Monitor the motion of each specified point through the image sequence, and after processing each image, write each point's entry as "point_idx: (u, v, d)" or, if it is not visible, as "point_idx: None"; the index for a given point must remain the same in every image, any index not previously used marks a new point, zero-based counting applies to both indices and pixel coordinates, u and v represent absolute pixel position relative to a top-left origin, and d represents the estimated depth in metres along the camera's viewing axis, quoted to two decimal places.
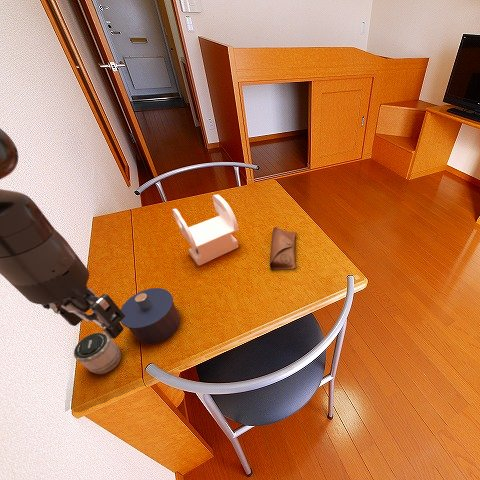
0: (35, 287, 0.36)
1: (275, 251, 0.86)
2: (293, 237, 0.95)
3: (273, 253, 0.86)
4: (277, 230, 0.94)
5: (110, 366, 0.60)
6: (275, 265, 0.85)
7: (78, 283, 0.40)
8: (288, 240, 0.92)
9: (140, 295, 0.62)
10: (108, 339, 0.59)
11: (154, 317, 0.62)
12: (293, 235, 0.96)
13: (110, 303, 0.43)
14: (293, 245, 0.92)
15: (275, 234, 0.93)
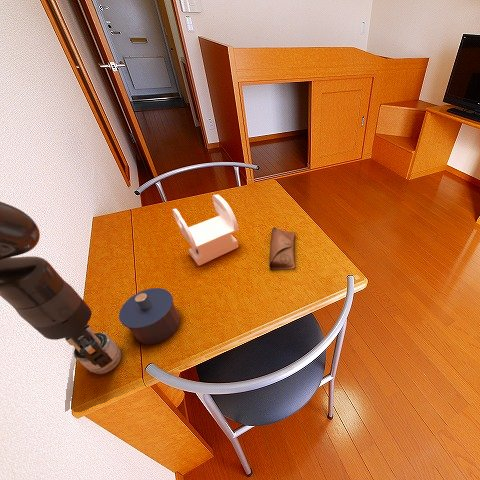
0: (40, 329, 0.47)
1: (274, 251, 0.86)
2: (292, 237, 0.95)
3: (273, 253, 0.86)
4: (276, 230, 0.94)
5: (110, 366, 0.60)
6: (274, 265, 0.85)
7: (75, 328, 0.50)
8: (287, 240, 0.92)
9: (140, 295, 0.62)
10: (108, 339, 0.59)
11: (154, 317, 0.62)
12: (292, 235, 0.96)
13: (96, 349, 0.52)
14: (292, 245, 0.92)
15: (274, 234, 0.93)
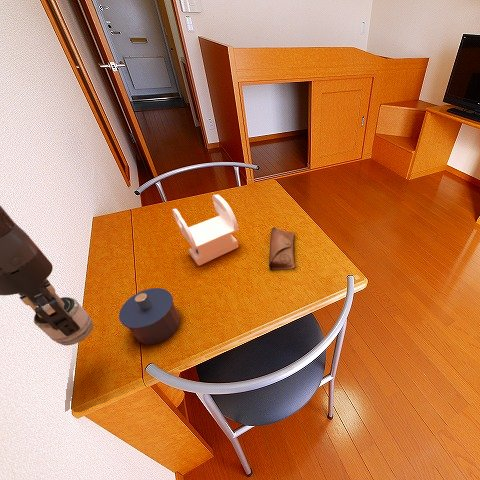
0: None
1: (274, 251, 0.86)
2: (291, 237, 0.95)
3: (272, 253, 0.86)
4: (276, 230, 0.94)
5: (78, 337, 0.52)
6: (274, 265, 0.85)
7: (29, 282, 0.42)
8: (287, 240, 0.92)
9: (140, 295, 0.62)
10: (76, 304, 0.51)
11: (154, 317, 0.62)
12: (292, 235, 0.96)
13: (57, 309, 0.43)
14: (292, 245, 0.92)
15: (274, 234, 0.93)
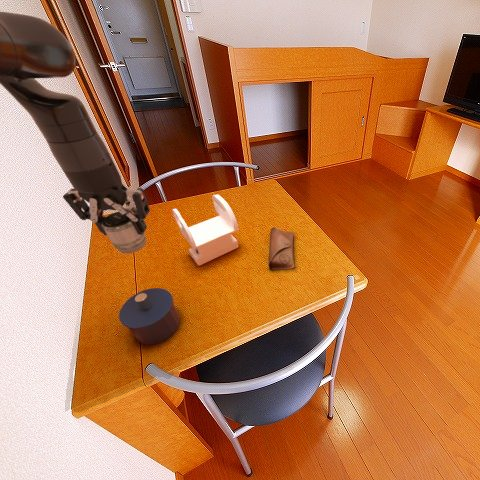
0: (92, 173, 0.48)
1: (273, 251, 0.86)
2: (291, 237, 0.95)
3: (272, 253, 0.86)
4: (275, 230, 0.94)
5: (144, 239, 0.62)
6: (274, 265, 0.85)
7: (117, 176, 0.52)
8: (286, 240, 0.92)
9: (140, 295, 0.62)
10: None
11: (154, 317, 0.62)
12: (291, 235, 0.96)
13: (144, 196, 0.55)
14: (291, 245, 0.92)
15: (273, 234, 0.93)
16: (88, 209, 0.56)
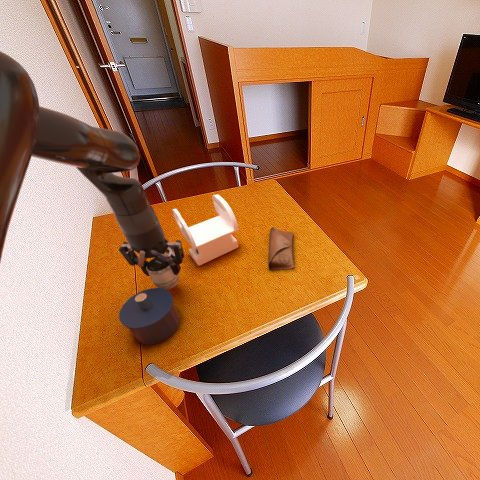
0: (146, 234, 0.61)
1: (273, 251, 0.86)
2: (290, 237, 0.95)
3: (271, 253, 0.86)
4: (274, 230, 0.94)
5: (178, 277, 0.75)
6: (273, 265, 0.85)
7: (162, 233, 0.66)
8: (286, 240, 0.92)
9: (140, 295, 0.62)
10: None
11: (154, 317, 0.62)
12: (290, 235, 0.96)
13: (181, 246, 0.69)
14: (291, 245, 0.92)
15: (272, 234, 0.93)
16: (135, 256, 0.70)
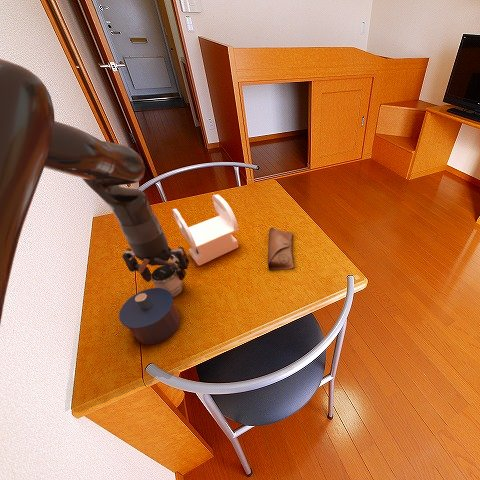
0: (150, 243, 0.63)
1: (272, 251, 0.86)
2: (289, 237, 0.95)
3: (271, 253, 0.86)
4: (274, 230, 0.94)
5: (181, 286, 0.77)
6: (273, 265, 0.85)
7: (165, 241, 0.67)
8: (285, 240, 0.92)
9: (140, 295, 0.62)
10: None
11: (154, 317, 0.62)
12: (290, 235, 0.96)
13: (184, 252, 0.71)
14: (290, 245, 0.92)
15: (272, 234, 0.93)
16: (136, 263, 0.71)
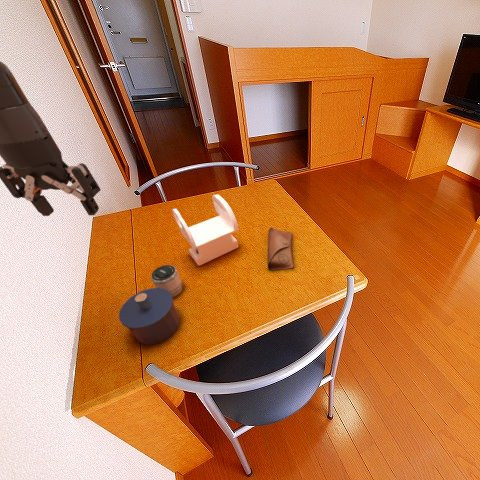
0: (23, 145, 0.44)
1: (272, 251, 0.86)
2: (289, 237, 0.95)
3: (271, 253, 0.86)
4: (273, 230, 0.94)
5: (181, 286, 0.77)
6: (273, 265, 0.85)
7: (56, 152, 0.48)
8: (285, 240, 0.92)
9: (140, 295, 0.62)
10: None
11: (154, 317, 0.62)
12: (289, 235, 0.96)
13: (87, 171, 0.52)
14: (290, 245, 0.92)
15: (271, 234, 0.93)
16: (24, 187, 0.53)
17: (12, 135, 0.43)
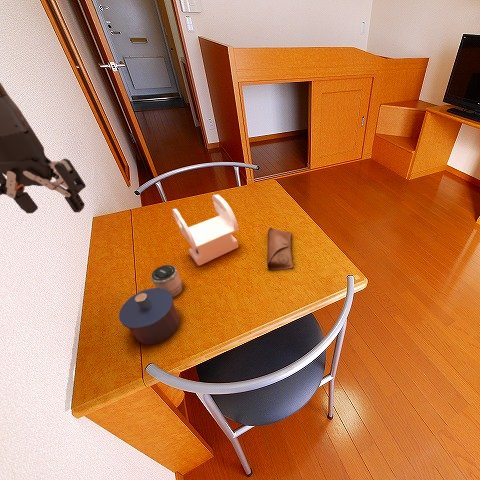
0: (2, 140, 0.43)
1: (272, 251, 0.86)
2: (288, 237, 0.95)
3: (270, 253, 0.86)
4: (273, 230, 0.94)
5: (181, 286, 0.77)
6: (272, 265, 0.85)
7: (38, 146, 0.47)
8: (284, 240, 0.92)
9: (140, 295, 0.62)
10: None
11: (154, 317, 0.62)
12: (289, 235, 0.96)
13: (71, 167, 0.50)
14: (289, 245, 0.92)
15: (271, 234, 0.93)
16: (6, 184, 0.51)
17: None
